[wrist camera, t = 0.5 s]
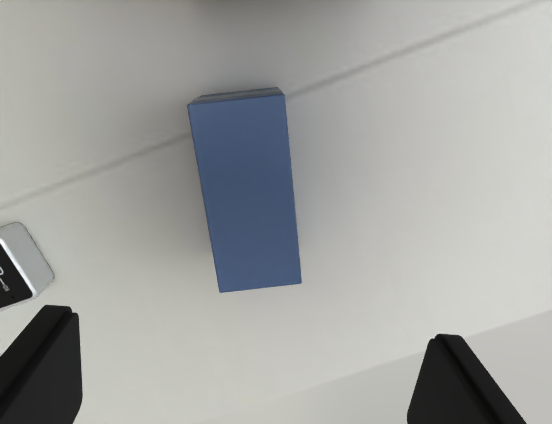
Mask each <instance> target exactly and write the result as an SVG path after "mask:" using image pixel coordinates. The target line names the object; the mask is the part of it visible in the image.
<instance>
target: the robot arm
mask: <svg viewBox="0 0 552 424" xmlns="http://www.w3.org/2000/svg"><path fill="white" fill-rule="evenodd" d="M81 402H82V373H81V353H80V333H79V316H78V314H77V313H72V309H71V307H69V306H55V305H45V306H44V307H42V309H41V310H40V311H39V312H38V313H37V314H36V316H35V317H34V318H33V319H32V320H31V322H30V323H29V324H28V325H27V326H26V327H25V329H24V330H23V331H22V332H21V333H20V334H19V336H18V337H17V338H16V339H15V340H14V341H13V343H12V344H11V345H10V346H9V347H8V349H7V350H6V351H5V352H4V353H3V354H2V356H1V357H0V424H73V422H74V420H75V418H76V416H77V414H78V411H79V409H80V406H81ZM407 423H408V424H526V422H525V421H524V420H523V418H522V417H521V415H520V414H519V413H518V412H517V410H516V409H515V407H514V406H513V405H512V403H511V402H510V401H509V399H508V398H507V397H506V395H505V394H504V393H503V392H502V390H501V389H500V388H499V386H498V385H497V383H496V382H495V381H494V380H493V378H492V377H491V375H490V374H489V373H488V371H487V370H486V369H485V368H484V366H483V365H482V363H481V362H480V361H479V359H478V358H477V357H476V355H475V354H474V353H473V351H472V350H471V349H470V347H469V346H468V345H467V343H466V342H465V340H464V339H463V338H462V337H461V336H459V335H449V334H437V335H436V336H435V339H431V340H430V341H429V343H428V346H427V349H426V353H425V356H424V359H423V363H422V366H421V369H420V373H419V376H418V380H417V383H416V386H415V389H414V393H413V396H412V399H411V403H410V406H409V409H408V413H407Z"/></svg>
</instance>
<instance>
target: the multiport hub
mask: <svg viewBox="0 0 552 424" xmlns="http://www.w3.org/2000/svg"><path fill="white" fill-rule="evenodd" d="M53 279H54V274H53V272H52V271H51V269H50V268H49V266H48V264H47V263H46V261H45V259H44V258H43V256H42V255H41V253H40V251H39V250H38V248H37V246H36V245H35V243H34V242H33V240H32V238H31V237H30V235H29V233H28V232H27V230H26V229H25V227H24V226H23V225H22V224H20V223H12V224H9V225H7V226H4V227H1V228H0V311H2V310H5V309H8V308H11V307H14V306H17V305H20V304H23V303H26V302H29V301H32V300H34V299H36V298H37V297H38V296H39V294H40V293H41V292H42V291H43V290H44V289H45V288H46V287H47V286H48V285H49V284H50V282H51V281H52V280H53Z"/></svg>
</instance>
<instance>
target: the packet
mask: <svg viewBox="0 0 552 424" xmlns="http://www.w3.org/2000/svg"><path fill="white" fill-rule="evenodd" d="M187 107H188V113H189V119H190V125H191V130H192V136H193V142H194V148H195V153H196V159H197V165H198V171H199V177H200V182H201V188H202V194H203V200H204V205H205V211H206V217H207V223H208V229H209V234H210V240H211V246H212V252H213V257H214V263H215V269H216V275H217V281H218V286H219V292H220V293H223V292H232V291H241V290H249V289H258V288H267V287H275V286H284V285H293V284H301V283H302V280H301V269H300V258H299V247H298V236H297V225H296V214H295V203H294V192H293V181H292V170H291V159H290V148H289V137H288V127H287V116H286V105H285V95H284V94H283V92H282V91H281V90H280V89H279V88H278V87H277V88H268V89H259V90H249V91H240V92H231V93H222V94H213V95H204V96H200V97H199V98H197V99H195V100H194V101H192V102H191V103H190V104H188V105H187Z"/></svg>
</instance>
